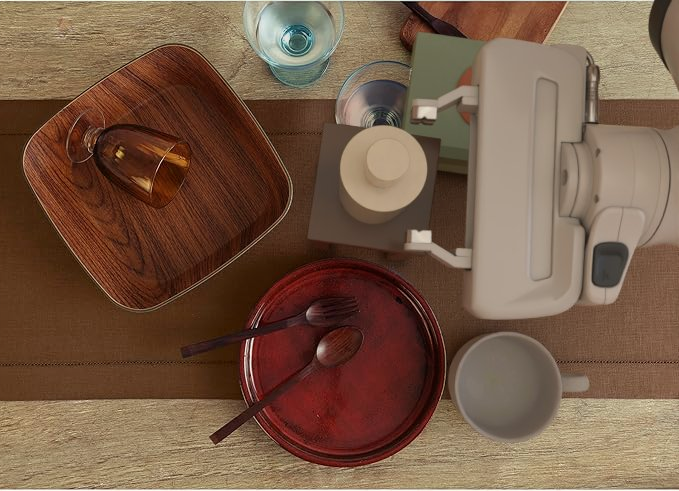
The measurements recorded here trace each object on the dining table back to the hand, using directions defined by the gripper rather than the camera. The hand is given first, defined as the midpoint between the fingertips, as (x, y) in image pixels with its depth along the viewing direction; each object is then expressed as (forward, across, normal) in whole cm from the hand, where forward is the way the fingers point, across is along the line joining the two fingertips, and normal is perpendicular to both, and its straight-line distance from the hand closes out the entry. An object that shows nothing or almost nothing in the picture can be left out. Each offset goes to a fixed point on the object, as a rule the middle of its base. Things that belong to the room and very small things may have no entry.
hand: (407, 175), depth 44 cm
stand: (+2, 0, +24) cm, 25 cm away
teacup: (-15, +18, +25) cm, 34 cm away
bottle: (+2, 0, +6) cm, 7 cm away
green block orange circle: (-11, -12, +24) cm, 29 cm away
